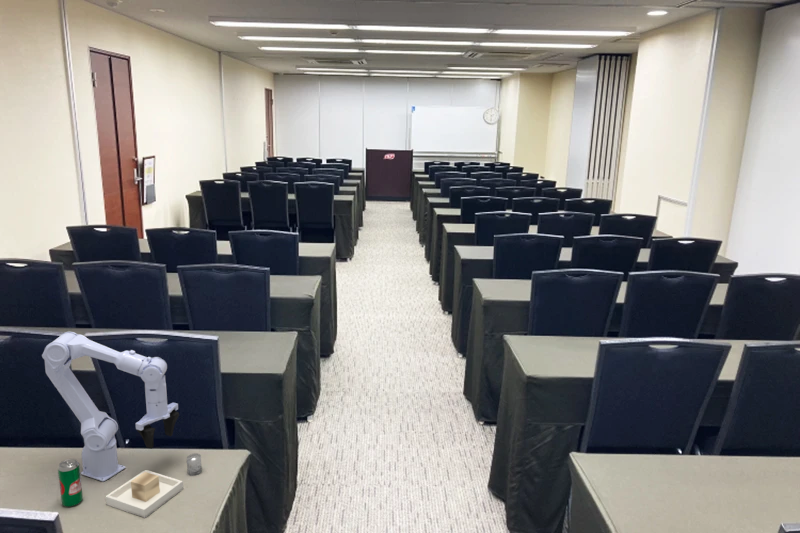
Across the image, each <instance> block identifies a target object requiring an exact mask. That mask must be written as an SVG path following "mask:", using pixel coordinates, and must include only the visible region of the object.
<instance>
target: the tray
mask: <svg viewBox="0 0 800 533" xmlns="http://www.w3.org/2000/svg"><path fill="white" fill-rule="evenodd" d="M144 472H147V473H150V474H154V475H157V476H159V488H160V492H159V493H158V494H156V495H155V496H153V497H152V498H151V499H149V500H148V501H147V502H144V501H141V500H138V499H135V498H133V497H132V489H131V481H132V480H134V479H135V478H137V477H138V476H140V475H141V474H143V473H144ZM183 490H184V482H183V480H180V479H177V478H174V477H170V476H167V475H164V474H161V473H158V472H154V471H151V470H148V469H145V470H142V471H141V472H140V473H138V474H137V475H135V476H134V477H132V478H131V479H129V480H128V481H126V482H124V483H123V484H122V485H120V486H118V487H117V488H116V489H114V490H113V491H111V492H110V493H108V494H107V495H105V499H104V500H105V505H106V506H109V507H113V508H115V509H118V510H121V511H124V512H127V513H129V514H133V515H135V516H138V517H141V518H144V519H146V518H147V517H149V516H150V515H151V514H152V513H154V512H155V511H156V510H158V509H159V508H160V507H161V506H163V505H164V504H165V503H167V502H168V501H169V500H171V499H173V497H175V496H176V495H177V494H178V493H180V492H181V491H183Z"/></svg>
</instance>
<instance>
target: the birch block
mask: <svg viewBox="0 0 800 533" xmlns="http://www.w3.org/2000/svg"><path fill="white" fill-rule="evenodd" d="M131 489H132V497H133V498H135V499H138V500H141V501H144V502H147V501H148V500H149V499H151V498H152V497H153V496H155V495H156V494H158V493H159V492H160V488H159V476H157V475H154V474H150V473H147V472H144V473H143V474H141V475H140V476H138V477H137V478H135V479H134V480H132V481H131Z"/></svg>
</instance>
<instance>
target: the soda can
mask: <svg viewBox="0 0 800 533" xmlns="http://www.w3.org/2000/svg"><path fill="white" fill-rule="evenodd" d="M57 475H58V476H57V477H58V483H59V484H58V485H59V492H60V500H61V506H63V507H65V508H71V507H76V506H78V505H79V504H81V502H82V501H83V499H84V497H83V486H82V476H81V475H82V474H81V467H80V462H78V460H77V459H76V458H69V459H68V458H67V459H64V460H63V461H61V462H60V463H59V464H58V468H57Z"/></svg>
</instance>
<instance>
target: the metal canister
mask: <svg viewBox="0 0 800 533" xmlns="http://www.w3.org/2000/svg"><path fill="white" fill-rule="evenodd" d="M186 465H187V466H186V467H187V468H186V470H187V475H188V476H190V477H192V476H193V477H194V476H195V477H196V476H199V474H200V475H201V473H202V455H201V454H200V453H192V454H189V455H188V456H186Z"/></svg>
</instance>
